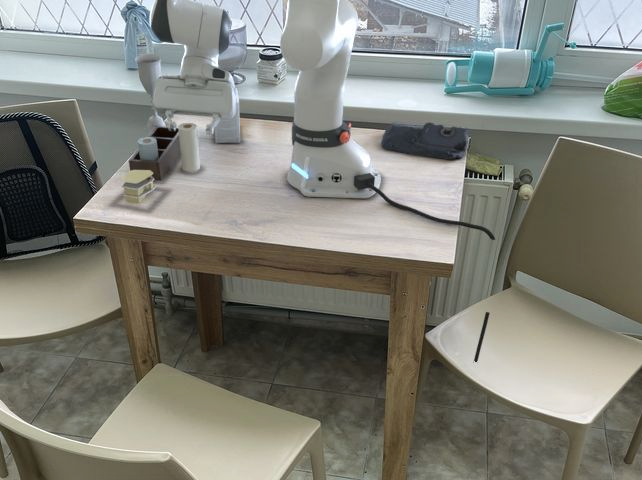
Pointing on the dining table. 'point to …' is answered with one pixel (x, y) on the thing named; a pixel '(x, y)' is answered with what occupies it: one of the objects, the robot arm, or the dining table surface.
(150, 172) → the stacked layers on plate
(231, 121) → the light bulb box
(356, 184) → the robot arm
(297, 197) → the dining table surface
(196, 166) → the towel roll
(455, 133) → the dark lumpy pouch
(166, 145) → the roll caddy
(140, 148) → the roll
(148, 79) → the chalice
